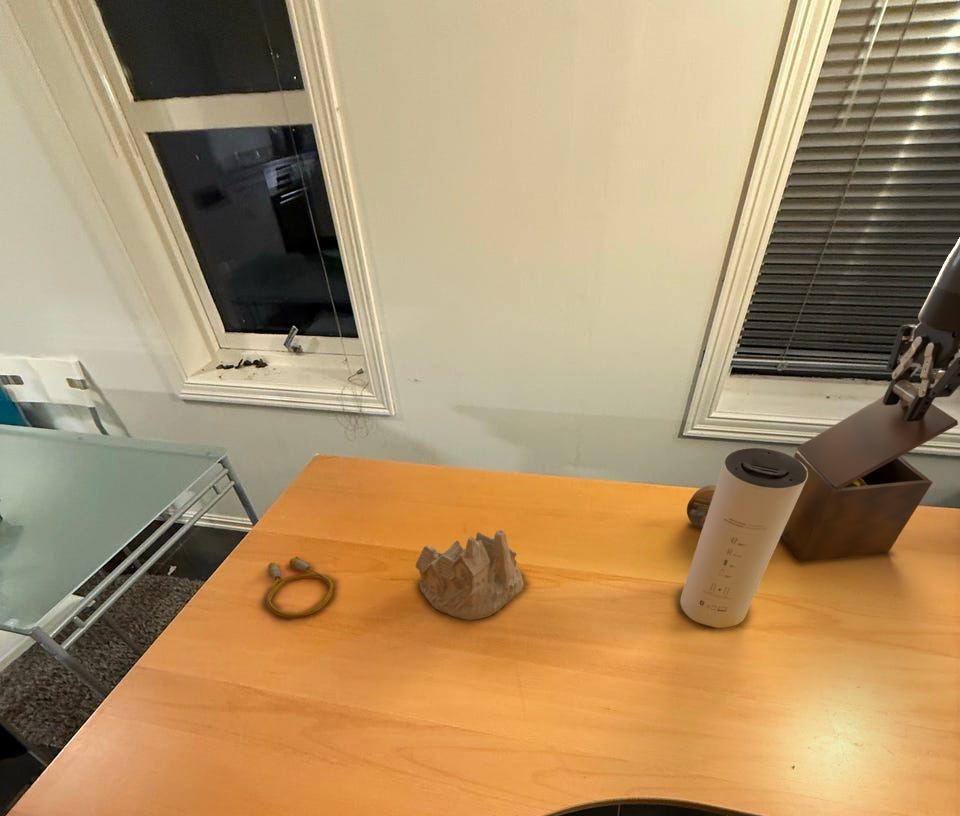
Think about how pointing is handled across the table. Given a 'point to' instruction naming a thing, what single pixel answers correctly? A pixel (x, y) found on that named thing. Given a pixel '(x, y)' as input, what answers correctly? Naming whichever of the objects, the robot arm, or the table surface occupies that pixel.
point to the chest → (853, 512)
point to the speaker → (741, 534)
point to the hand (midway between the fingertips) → (900, 411)
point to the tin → (700, 505)
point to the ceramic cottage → (470, 576)
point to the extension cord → (299, 565)
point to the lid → (873, 437)
